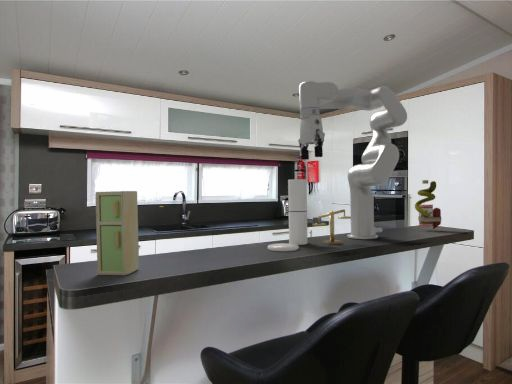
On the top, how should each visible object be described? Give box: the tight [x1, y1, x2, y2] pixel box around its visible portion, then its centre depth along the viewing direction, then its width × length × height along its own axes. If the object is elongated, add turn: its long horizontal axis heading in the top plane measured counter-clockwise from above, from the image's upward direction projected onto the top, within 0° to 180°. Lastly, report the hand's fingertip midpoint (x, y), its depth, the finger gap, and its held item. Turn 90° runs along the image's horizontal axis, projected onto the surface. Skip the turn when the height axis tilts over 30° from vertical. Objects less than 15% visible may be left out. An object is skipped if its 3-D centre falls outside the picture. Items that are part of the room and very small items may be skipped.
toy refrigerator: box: [94, 190, 140, 276], centre depth 82 cm, size 8×7×21 cm
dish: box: [267, 243, 300, 253], centre depth 114 cm, size 11×11×1 cm
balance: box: [311, 209, 351, 246], centre depth 123 cm, size 17×5×13 cm, turn 113°
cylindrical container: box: [287, 178, 308, 246], centre depth 126 cm, size 7×7×25 cm
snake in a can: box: [414, 179, 442, 230], centre depth 158 cm, size 12×10×25 cm
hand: (311, 158), depth 125 cm, fingers open, 9 cm apart
